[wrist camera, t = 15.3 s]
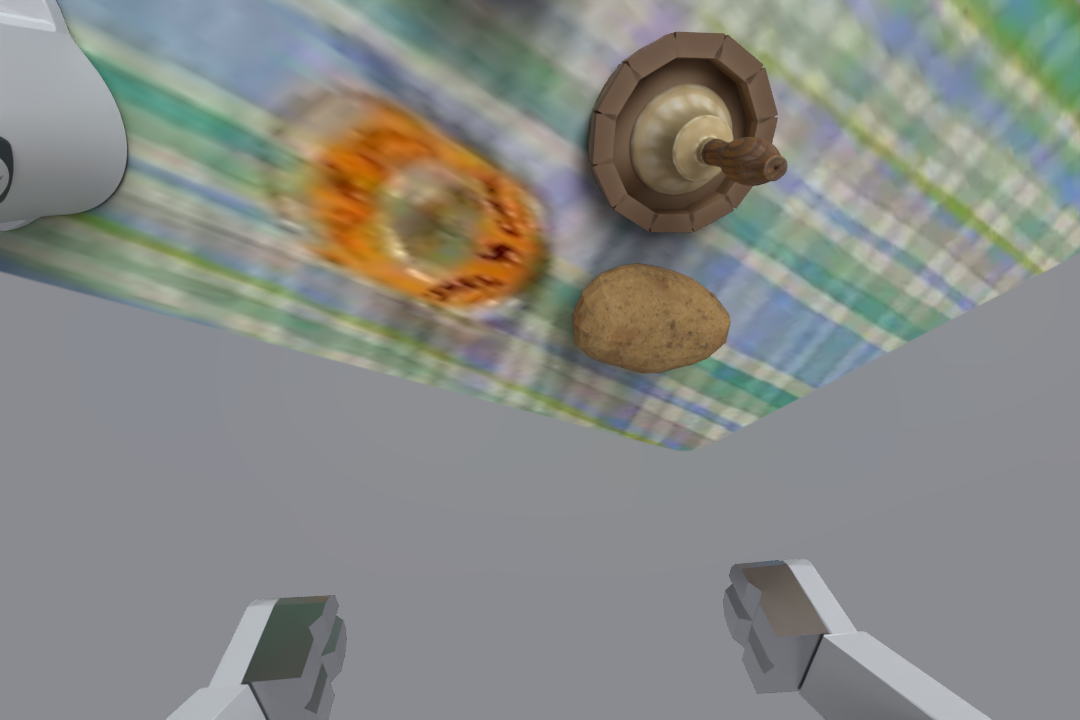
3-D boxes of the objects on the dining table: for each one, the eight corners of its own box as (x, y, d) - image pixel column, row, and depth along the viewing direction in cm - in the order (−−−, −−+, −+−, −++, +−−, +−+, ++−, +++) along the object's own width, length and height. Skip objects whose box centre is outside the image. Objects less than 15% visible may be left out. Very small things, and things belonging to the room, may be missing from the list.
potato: (693, 352, 51) (725, 394, 44) (558, 342, 49) (568, 384, 42) (721, 260, 47) (761, 290, 40) (573, 245, 45) (587, 274, 38)
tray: (555, 169, 42) (559, 174, 39) (657, -7, 36) (670, -14, 34) (684, 251, 46) (695, 262, 43) (792, 105, 41) (812, 106, 38)
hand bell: (618, 186, 42) (682, 236, 28) (645, 73, 38) (735, 65, 24) (711, 202, 43) (816, 258, 29) (746, 94, 39) (887, 99, 25)
